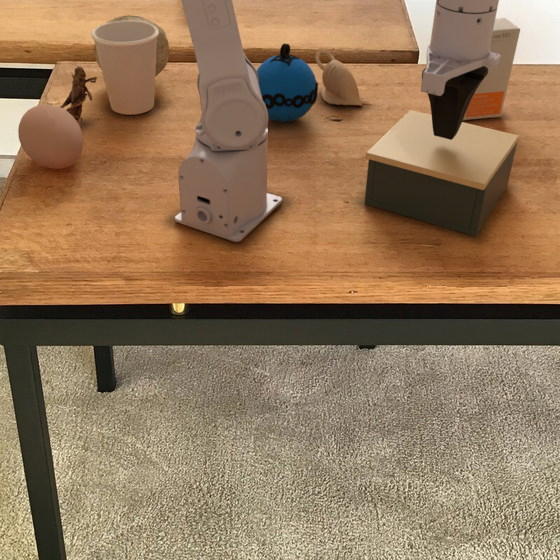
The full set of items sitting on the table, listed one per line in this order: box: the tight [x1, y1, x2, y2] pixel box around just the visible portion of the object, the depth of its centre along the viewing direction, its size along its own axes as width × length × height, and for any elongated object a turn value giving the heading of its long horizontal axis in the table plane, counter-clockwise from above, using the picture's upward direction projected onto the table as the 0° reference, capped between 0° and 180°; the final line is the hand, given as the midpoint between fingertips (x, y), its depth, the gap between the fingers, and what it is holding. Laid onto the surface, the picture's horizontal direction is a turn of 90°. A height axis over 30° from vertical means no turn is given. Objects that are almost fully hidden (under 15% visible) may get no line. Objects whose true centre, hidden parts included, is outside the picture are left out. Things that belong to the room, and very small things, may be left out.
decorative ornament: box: [314, 49, 363, 107], centre depth 105 cm, size 4×8×5 cm, turn 23°
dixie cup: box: [90, 20, 159, 116], centre depth 100 cm, size 8×8×10 cm
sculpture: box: [93, 14, 170, 78], centre depth 105 cm, size 10×4×10 cm, turn 95°
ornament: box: [256, 43, 319, 123], centre depth 98 cm, size 9×9×10 cm
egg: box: [17, 103, 84, 170], centre depth 88 cm, size 7×7×10 cm
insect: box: [59, 64, 98, 126], centre depth 97 cm, size 4×8×5 cm
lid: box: [365, 109, 520, 190], centre depth 82 cm, size 12×13×1 cm
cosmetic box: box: [463, 17, 521, 121], centre depth 100 cm, size 6×4×12 cm
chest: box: [364, 142, 518, 238], centre depth 84 cm, size 12×13×6 cm
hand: (444, 135), depth 81 cm, fingers closed
